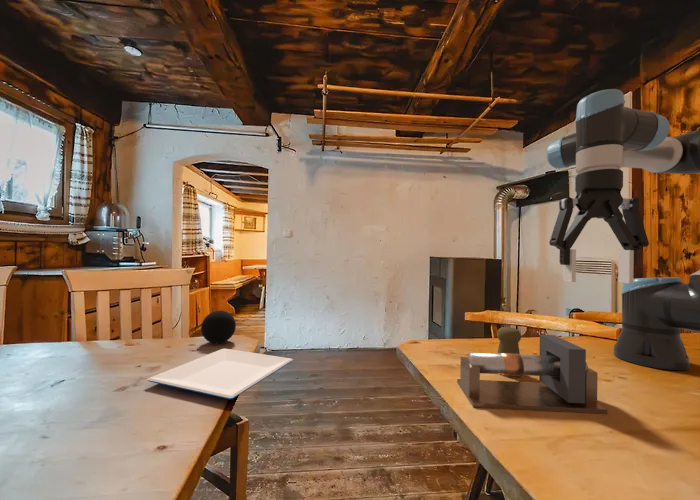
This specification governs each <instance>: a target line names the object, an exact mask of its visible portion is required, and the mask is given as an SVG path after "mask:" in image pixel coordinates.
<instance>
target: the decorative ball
mask: <svg viewBox="0 0 700 500" xmlns="http://www.w3.org/2000/svg"><path fill="white" fill-rule="evenodd" d="M236 328H237V323H236V320H235V318H234V316H233V315H232V314H231V313H229V312H228V311H225V310H215V311H212V312H210V313H209V314H207V315H206V316H205V317H204V319H203V320H202V323H201V325H200V331H201V335H202V337H203V338H204V339H205V340H206V341H207V342H209V343H212V344H223V343H225V342H227V341H228V340H230V339H231V338H232V337H233V335H234V334H235V332H236Z"/></svg>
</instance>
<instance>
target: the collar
mask: <svg viewBox="0 0 700 500" xmlns="http://www.w3.org/2000/svg"><path fill="white" fill-rule="evenodd" d="M586 353H587V350H586V349H585V348H584V347H581V346H580V345H577V344H575V343H572V342H570V341H568V340H566V339H563V338H561V337H559V336H557V335H555V334H539V355H551V356H557V357H559V358H560V377H555V376H538V377H539V378H538V381H540V383H544V384H545V385H546V386H547V387H549V388H550V389H551V390H553V391H554V392H555V393H557V394H558V395H559V396H560V397H562V398H563V399H564V400H566V401H567V402H568V403H585V383H586V363H587V361H586V360H587V358H586V357H587V354H586Z"/></svg>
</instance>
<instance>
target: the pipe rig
mask: <svg viewBox="0 0 700 500" xmlns="http://www.w3.org/2000/svg"><path fill="white" fill-rule="evenodd" d="M481 374H485V375H488V374H489V375H499V374H501V375H500V376H502V375H511V376H522V375H523V376H533V377H536V376H537V377H539V376H555V377H560V358H559V357H557V356H551V355H540V354H524V353H523V354H521V353H520V354H517V353H498V352H497V353H493V352H491V353H490V352H489V353H487V352H467V355H466V356H461V357H460V378H457V379H456V383H457V385H458V386H459V388H460V389H461V391H462V393H463V394H464V396H465V397H466V399H467V400H468V402H469V403H470V405H471V406H472V408H477V409H478V408H479V409H480V408H481V409H502V410H503V409H504V410H520V411H523V410H525V411H542V412H543V411H544V412H561V413H562V412H563V413H565V412H566V413H580V414H581V413H584V414H586V413H587V414H602V415H603V414H604V415H605V414H607V415H608V409H607V408H605V407H604V406H603V405H601V404H600V403H598V372H597V371H595V369H592V368H590V367H589V366H588V363H587V362H586V383H585V403H568V402H567V401H566V400H564V399H563V398H562V397H560V396H559V395H558V394H557V393H555V392H554V391H553V390H551V389H550V388H549V387H547V386H546V385H545V384H544V383H542V382H535V381H513V380H511V381H510V380H491V379H489V380H488V379H480V377H481ZM523 376H522V377H523Z"/></svg>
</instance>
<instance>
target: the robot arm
mask: <svg viewBox="0 0 700 500" xmlns="http://www.w3.org/2000/svg"><path fill="white" fill-rule="evenodd" d="M624 95H625V94H624V93H623V91H622V90H620V89H617V88H608V89H602V90H598V91H596V92H593V93H590V94H588V95H586V96H584V97H583V98H581V99H580V100H579V102H578V103H577V105H576V114H575V120H574V122H575V132H574V133H572V134H568V135H567V136H562V137H560V138H559V139H556V140H554V141H552V142H551V143H550V144H549V145H548V146H547V148H546V149H547V150H546V158H547V162H548V164H549V165H550V166H551V167H553V169H563V168H565V169H566V168H569V167H572V166H575V173H576V174H577V175H576V176H575V178H574V179H575V184H574V185H575V187H574V188H575V190H574V191H575V193H576V194H575V195H576V196H575V197H574V198H572V197H566V198H562V199H560V200H559V202H558V203H559V205H558V206H559V211H558V214H557V218H556V220H555V224H554V226H553V231H552V233H551V236H550V239H549V245H550V246H552V247H555V248H556V249H558V250H559V265H561V266H562V267H563V270H562V272H563V274H562V275H563V276H562V281H563V282H569V283H576V282H577V281H576V278H577V277H576V276H577V273H576V272H577V270H576V268H577V267H576V265H577V249H575V248H574V249H572V248H573V246H574V244H575V243H576V241H577V239H578V237H579V236H580V234H581V233H582V231H583V230H584V228H585V227H586V225H587V223H588V222H589V221H591V219H594V218H595V219H603V221H604V222H606V223H607V225H608V226H609V227H610V229H611V231H612V233H613V234H614V235H615V237H616V239H617V241H618V242H619V244H620V245H621V247H622V249H618V267H617V270H618V273H617V278H618V280H617V281H618V282H619V283H622V290H621V331H620V333H619V335H618V337H617V339H616V342H615V344H614V346H613V355H614V356H615V357H617V358H618V359H621V360H623V361H626V362H629V363H631V364H636V365H640V366H645V367H649V368H655V369H661V370H662V369H663V370H666V371H667V370H668V371H669V370H670V371H686V370H690V368H691V358H690V357H689V355H688V353H687V351H686V348H685V345H684V342H683V340H682V337H681V330H682V329H683V330H687V331H692V332H697V333H698V332H699V333H700V269H698V270H697V271H695V272H692V273H691V274H690V275H689V280H688V283H685V282H684V283H683V280H682V279H681V278H680V277H679V276H677V277H676V276H675V277H673V276H672V277H671V276H669V277H668V276H667V277H641V278H639V277H637V278H634V267H636V266H637V265H638V264H637V263H638V251H641V250H642V249H643V248H644V247H648V246H649V245H650V243H649V242H650V241H649V238H648V235H647V233H646V232H647V231H646V229H645V226H644V222H643V219H642V216H641V212H640V198H638V197H631V198H625V197H623V196H622V193H621V192H622V190H623V187H624V171H623V170H622V168H627V169H628V168H629V169H630V168H631V169H643V170H645V171H646V172H649V173H654V174H668V175H669V174H670V175H671V174H673V175H675V174H677V175H690V174H691V175H692V174H694V175H695V174H700V129H697V130H694V131H690V132H687V133H683V134H679V135H677V136H676V135H675V136H668V134H669V133H670V127H671V126H670V122H669V120H668V119H667V117H665V116H663V115H661V114H658V113H655V112H654V111H647V110H642V109H637V108H636V109H635V108H631V107H628V106H625V103H626V100H625V96H624ZM575 207H576V208H577V209H578V211H577V212H576V214H575V216H574V217H573V218H574V219H573V221H572V222H571V225H570V226H569V224H570V221H571V218H572V214H573V211H574V209H575ZM620 209H621V210H622V212H621V210H620Z"/></svg>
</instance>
